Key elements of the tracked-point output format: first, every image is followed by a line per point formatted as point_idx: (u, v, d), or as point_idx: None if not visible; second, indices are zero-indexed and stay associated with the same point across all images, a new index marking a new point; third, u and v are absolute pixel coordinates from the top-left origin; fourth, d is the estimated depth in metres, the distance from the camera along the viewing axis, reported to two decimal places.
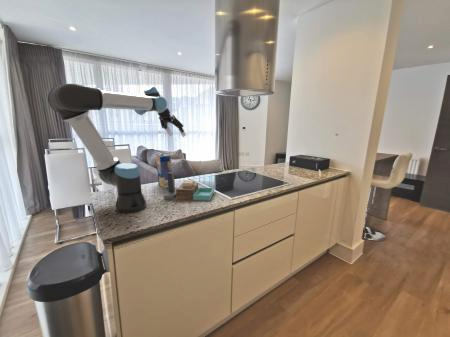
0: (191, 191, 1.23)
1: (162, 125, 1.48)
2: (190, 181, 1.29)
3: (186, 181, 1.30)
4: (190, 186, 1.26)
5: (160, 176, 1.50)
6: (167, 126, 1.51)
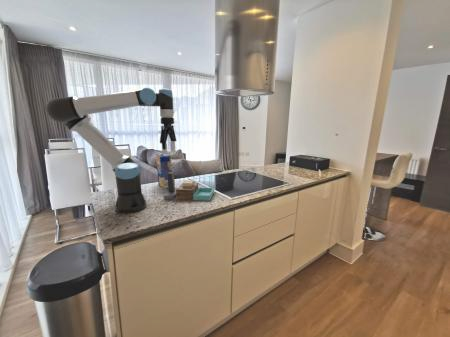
0: (191, 191, 1.23)
1: None
2: (190, 181, 1.29)
3: (186, 181, 1.30)
4: (190, 186, 1.26)
5: (160, 176, 1.50)
6: (175, 140, 1.32)
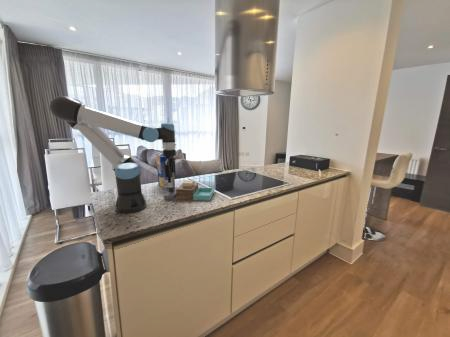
0: (191, 191, 1.23)
1: None
2: (190, 181, 1.29)
3: (186, 181, 1.30)
4: (190, 186, 1.26)
5: (160, 176, 1.50)
6: (174, 174, 1.32)
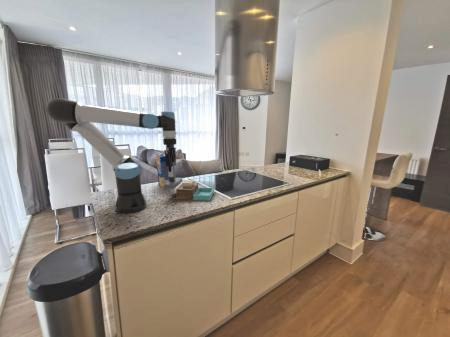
0: (191, 191, 1.23)
1: None
2: (190, 181, 1.29)
3: (186, 181, 1.30)
4: (190, 186, 1.26)
5: (160, 176, 1.50)
6: (174, 164, 1.30)
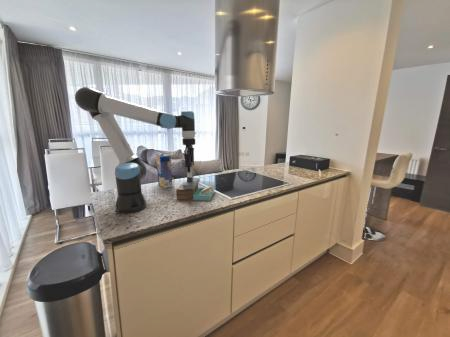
0: (191, 191, 1.23)
1: None
2: None
3: None
4: (202, 192, 1.27)
5: (160, 176, 1.50)
6: (193, 164, 1.29)
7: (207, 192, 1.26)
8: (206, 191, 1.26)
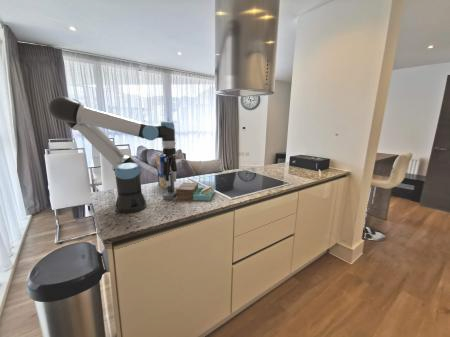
0: (191, 191, 1.23)
1: None
2: None
3: None
4: (202, 192, 1.27)
5: (160, 176, 1.50)
6: (175, 170, 1.34)
7: (207, 192, 1.26)
8: (206, 191, 1.26)
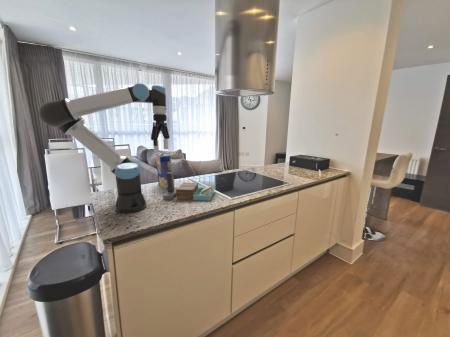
0: (191, 191, 1.23)
1: None
2: None
3: None
4: (202, 192, 1.27)
5: (160, 176, 1.50)
6: (168, 138, 1.31)
7: (207, 192, 1.26)
8: (206, 191, 1.26)
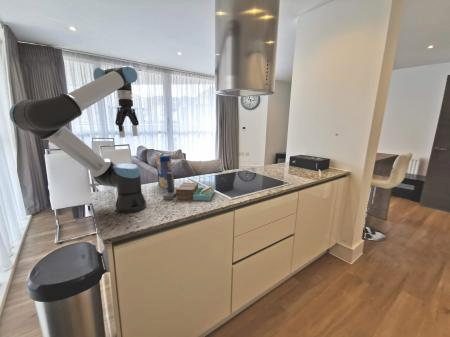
0: (191, 191, 1.23)
1: None
2: None
3: None
4: (202, 192, 1.27)
5: (160, 176, 1.50)
6: (136, 124, 1.29)
7: (207, 192, 1.26)
8: (206, 191, 1.26)
